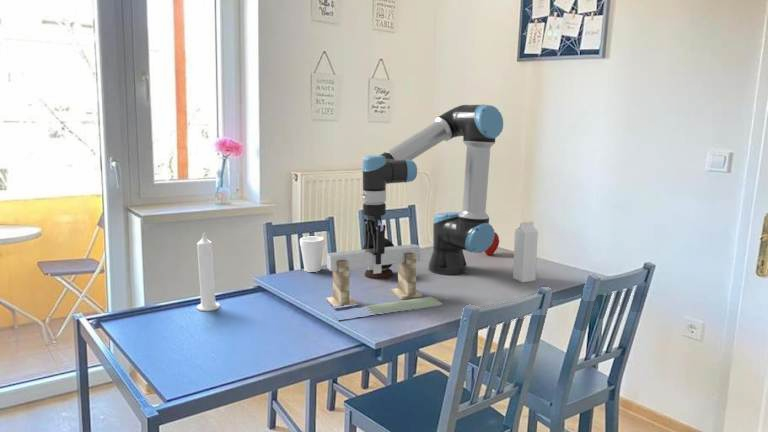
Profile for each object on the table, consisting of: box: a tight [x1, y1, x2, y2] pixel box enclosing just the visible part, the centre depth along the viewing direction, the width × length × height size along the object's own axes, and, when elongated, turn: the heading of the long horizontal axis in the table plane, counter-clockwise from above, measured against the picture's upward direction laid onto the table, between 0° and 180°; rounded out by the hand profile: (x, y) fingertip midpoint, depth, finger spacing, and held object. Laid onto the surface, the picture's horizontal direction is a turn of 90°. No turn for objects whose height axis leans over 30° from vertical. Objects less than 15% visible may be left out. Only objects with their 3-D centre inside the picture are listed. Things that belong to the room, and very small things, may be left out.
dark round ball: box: [362, 237, 395, 280], centre depth 220 cm, size 13×13×15 cm
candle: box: [196, 232, 221, 312], centre depth 184 cm, size 7×7×25 cm
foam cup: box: [299, 235, 325, 273], centre depth 226 cm, size 10×9×13 cm
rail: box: [326, 243, 421, 272], centre depth 192 cm, size 32×4×5 cm, turn 113°
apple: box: [483, 232, 500, 256], centre depth 250 cm, size 9×8×11 cm
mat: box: [364, 296, 444, 314], centre depth 184 cm, size 36×8×1 cm, turn 113°
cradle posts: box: [325, 254, 424, 307], centre depth 193 cm, size 32×9×15 cm, turn 113°
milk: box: [512, 221, 539, 283], centre depth 214 cm, size 6×6×22 cm
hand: (374, 271), depth 193 cm, fingers closed on rail, 4 cm apart
